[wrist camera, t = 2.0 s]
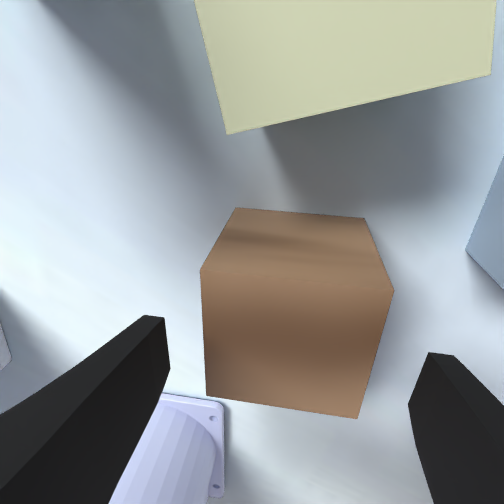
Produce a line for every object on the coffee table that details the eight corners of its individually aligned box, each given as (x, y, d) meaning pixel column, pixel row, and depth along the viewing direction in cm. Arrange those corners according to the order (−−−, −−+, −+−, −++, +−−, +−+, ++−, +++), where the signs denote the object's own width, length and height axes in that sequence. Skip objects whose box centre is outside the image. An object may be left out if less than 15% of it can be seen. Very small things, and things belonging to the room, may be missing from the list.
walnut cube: (342, 319, 15) (357, 419, 10) (235, 306, 15) (206, 395, 11) (363, 217, 12) (394, 290, 8) (236, 206, 13) (200, 269, 9)
